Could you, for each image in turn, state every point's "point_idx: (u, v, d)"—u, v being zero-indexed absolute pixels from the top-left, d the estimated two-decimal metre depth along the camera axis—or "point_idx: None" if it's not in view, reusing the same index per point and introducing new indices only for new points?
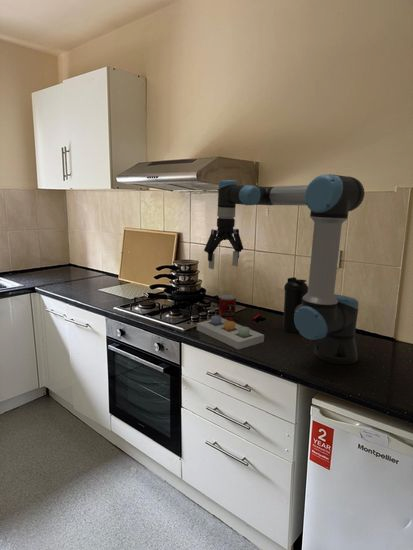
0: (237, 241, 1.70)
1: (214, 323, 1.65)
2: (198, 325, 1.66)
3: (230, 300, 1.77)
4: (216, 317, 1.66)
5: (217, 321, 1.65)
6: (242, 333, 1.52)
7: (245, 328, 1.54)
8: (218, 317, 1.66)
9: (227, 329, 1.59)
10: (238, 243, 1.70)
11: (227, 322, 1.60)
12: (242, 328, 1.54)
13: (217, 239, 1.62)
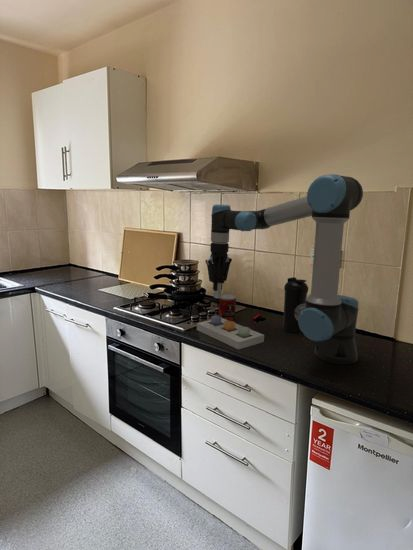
0: (224, 270, 1.65)
1: (214, 323, 1.65)
2: (198, 325, 1.66)
3: (230, 300, 1.77)
4: (216, 317, 1.66)
5: (217, 321, 1.65)
6: (242, 333, 1.52)
7: (245, 328, 1.54)
8: (218, 317, 1.66)
9: (227, 329, 1.59)
10: (224, 272, 1.65)
11: (227, 322, 1.60)
12: (242, 328, 1.54)
13: (215, 267, 1.61)
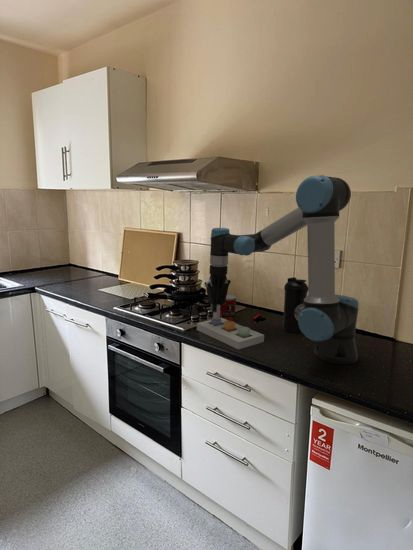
0: (223, 291, 1.67)
1: (214, 325, 1.65)
2: (198, 325, 1.66)
3: (230, 300, 1.77)
4: None
5: (217, 323, 1.65)
6: (242, 333, 1.52)
7: (245, 328, 1.54)
8: None
9: (227, 329, 1.59)
10: (223, 294, 1.67)
11: (227, 322, 1.60)
12: (242, 328, 1.54)
13: (214, 289, 1.63)
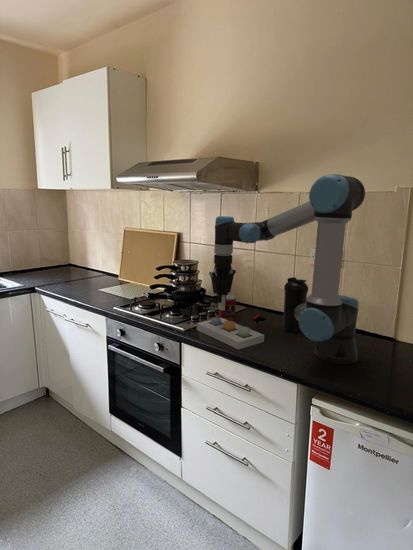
0: (228, 282, 1.64)
1: None
2: (198, 325, 1.66)
3: (230, 300, 1.77)
4: (216, 320, 1.66)
5: (217, 324, 1.65)
6: (242, 333, 1.52)
7: (245, 328, 1.54)
8: (218, 320, 1.66)
9: (227, 329, 1.59)
10: (228, 284, 1.63)
11: (227, 322, 1.60)
12: (242, 328, 1.54)
13: (219, 279, 1.60)
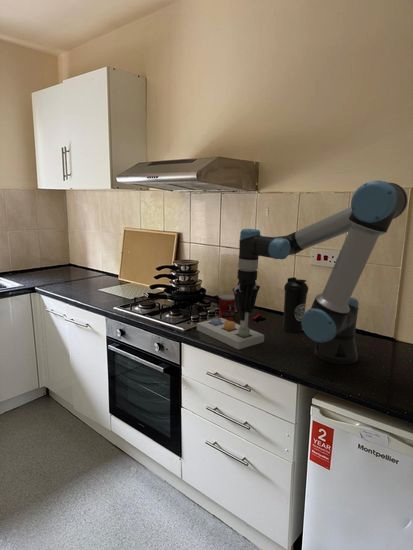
0: (252, 298, 1.54)
1: None
2: (198, 325, 1.66)
3: (230, 300, 1.77)
4: (216, 320, 1.66)
5: (217, 324, 1.65)
6: (242, 333, 1.52)
7: None
8: (218, 320, 1.66)
9: (227, 329, 1.59)
10: (251, 301, 1.53)
11: (227, 322, 1.60)
12: (242, 328, 1.54)
13: (242, 296, 1.50)
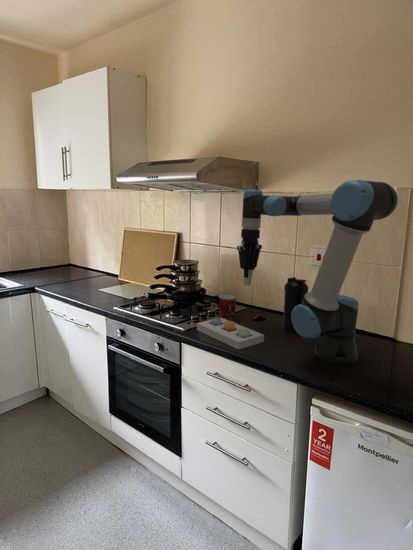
0: (254, 257, 1.63)
1: None
2: (198, 325, 1.66)
3: (230, 300, 1.77)
4: (216, 320, 1.66)
5: (217, 324, 1.65)
6: (242, 336, 1.52)
7: (245, 331, 1.54)
8: (218, 320, 1.66)
9: (227, 329, 1.59)
10: (254, 259, 1.62)
11: (227, 322, 1.60)
12: (242, 331, 1.54)
13: (246, 253, 1.59)
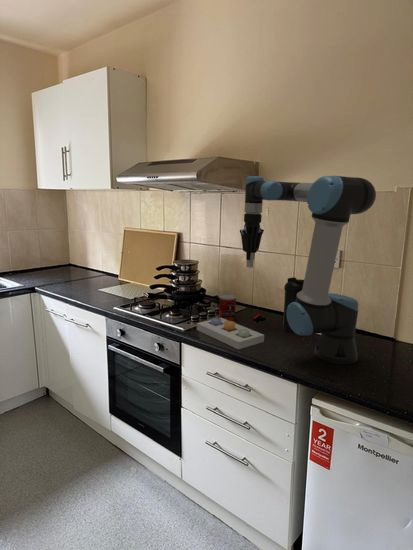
0: (256, 240, 1.72)
1: None
2: (198, 325, 1.66)
3: (230, 300, 1.77)
4: (216, 320, 1.66)
5: (217, 324, 1.65)
6: (242, 336, 1.52)
7: (245, 331, 1.54)
8: (218, 320, 1.66)
9: (227, 329, 1.59)
10: (256, 243, 1.72)
11: (227, 322, 1.60)
12: (242, 331, 1.54)
13: (248, 237, 1.68)
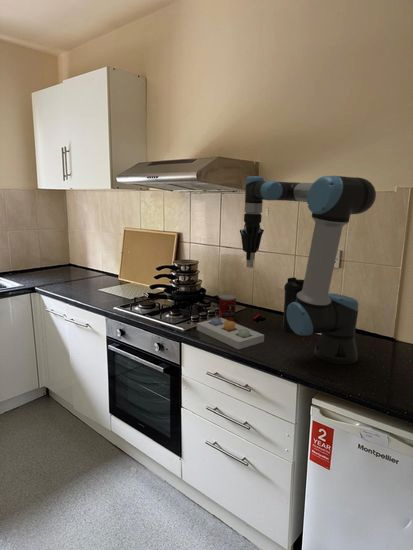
0: (256, 240, 1.72)
1: None
2: (198, 325, 1.66)
3: (230, 300, 1.77)
4: (216, 320, 1.66)
5: (217, 324, 1.65)
6: (242, 336, 1.52)
7: (245, 331, 1.54)
8: (218, 320, 1.66)
9: (227, 329, 1.59)
10: (256, 243, 1.72)
11: (227, 322, 1.60)
12: (242, 331, 1.54)
13: (248, 237, 1.68)
